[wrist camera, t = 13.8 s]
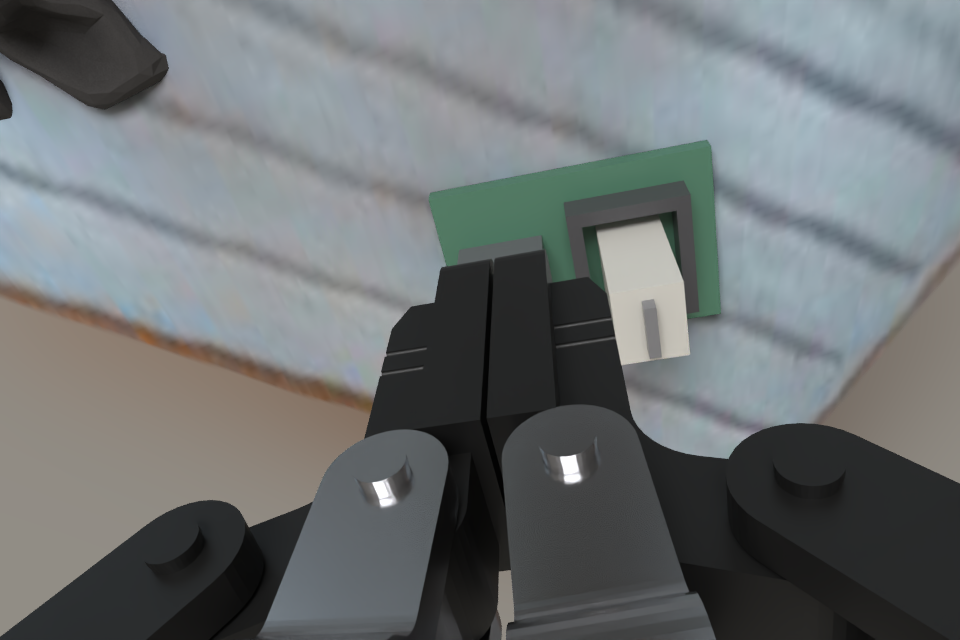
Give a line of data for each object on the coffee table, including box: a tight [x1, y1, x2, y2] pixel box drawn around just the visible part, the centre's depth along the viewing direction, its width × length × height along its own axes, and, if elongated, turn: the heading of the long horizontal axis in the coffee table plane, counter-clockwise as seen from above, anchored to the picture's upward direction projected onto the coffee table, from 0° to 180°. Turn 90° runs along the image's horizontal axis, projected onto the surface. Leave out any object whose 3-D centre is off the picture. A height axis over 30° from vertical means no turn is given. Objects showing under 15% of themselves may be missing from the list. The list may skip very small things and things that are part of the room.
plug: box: [595, 214, 690, 365], centre depth 41 cm, size 4×4×9 cm
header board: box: [429, 140, 721, 319], centre depth 45 cm, size 16×11×4 cm
